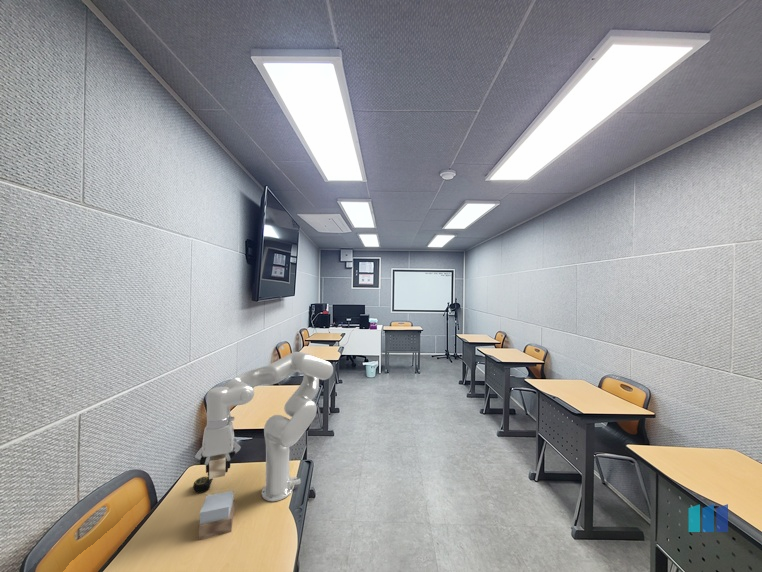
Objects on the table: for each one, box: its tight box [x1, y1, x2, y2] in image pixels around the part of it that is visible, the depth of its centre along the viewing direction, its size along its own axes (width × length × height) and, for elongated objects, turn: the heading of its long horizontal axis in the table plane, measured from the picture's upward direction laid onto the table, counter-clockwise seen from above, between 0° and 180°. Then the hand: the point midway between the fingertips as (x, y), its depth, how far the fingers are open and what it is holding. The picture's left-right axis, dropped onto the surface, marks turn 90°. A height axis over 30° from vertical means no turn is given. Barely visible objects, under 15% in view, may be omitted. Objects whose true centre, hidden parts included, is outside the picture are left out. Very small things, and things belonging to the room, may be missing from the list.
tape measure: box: [192, 475, 214, 494], centre depth 126 cm, size 7×7×4 cm
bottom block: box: [198, 499, 236, 541], centre depth 106 cm, size 10×10×5 cm
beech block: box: [209, 454, 227, 480], centre depth 106 cm, size 5×5×6 cm
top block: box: [199, 490, 234, 525], centre depth 106 cm, size 9×9×4 cm
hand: (218, 471), depth 106 cm, fingers closed on beech block, 5 cm apart
